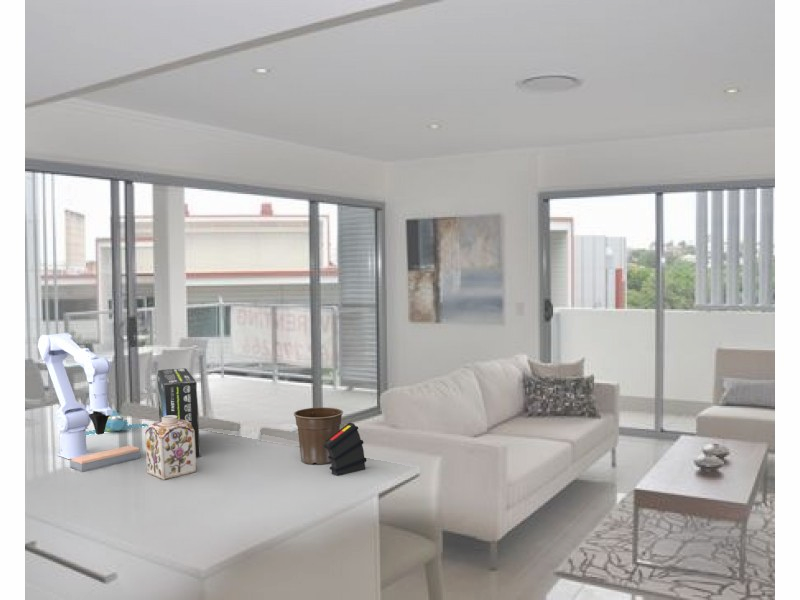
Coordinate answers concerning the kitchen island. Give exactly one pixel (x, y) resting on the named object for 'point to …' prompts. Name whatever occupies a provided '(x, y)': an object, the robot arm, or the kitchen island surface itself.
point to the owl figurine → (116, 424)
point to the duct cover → (105, 454)
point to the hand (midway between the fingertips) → (100, 433)
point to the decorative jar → (170, 448)
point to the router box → (179, 398)
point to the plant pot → (316, 432)
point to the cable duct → (104, 461)
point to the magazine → (346, 450)
